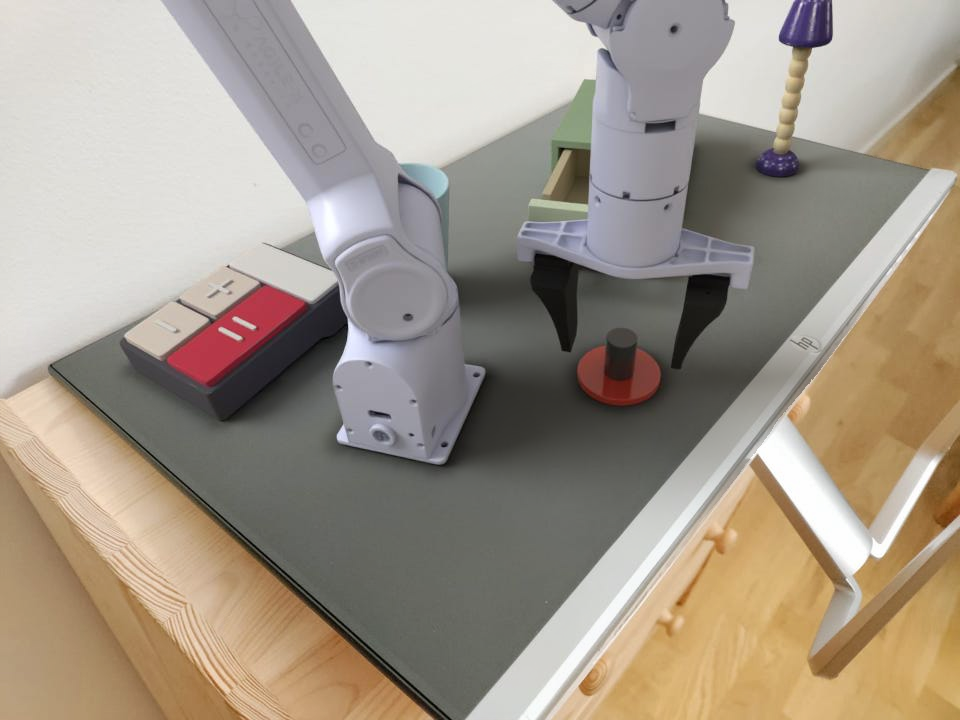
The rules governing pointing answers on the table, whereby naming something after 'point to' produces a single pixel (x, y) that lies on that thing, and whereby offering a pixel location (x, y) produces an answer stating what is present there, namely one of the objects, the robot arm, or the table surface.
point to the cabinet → (575, 123)
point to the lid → (619, 370)
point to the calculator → (237, 328)
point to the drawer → (565, 190)
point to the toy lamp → (796, 77)
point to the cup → (434, 192)
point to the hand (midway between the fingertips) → (621, 351)
